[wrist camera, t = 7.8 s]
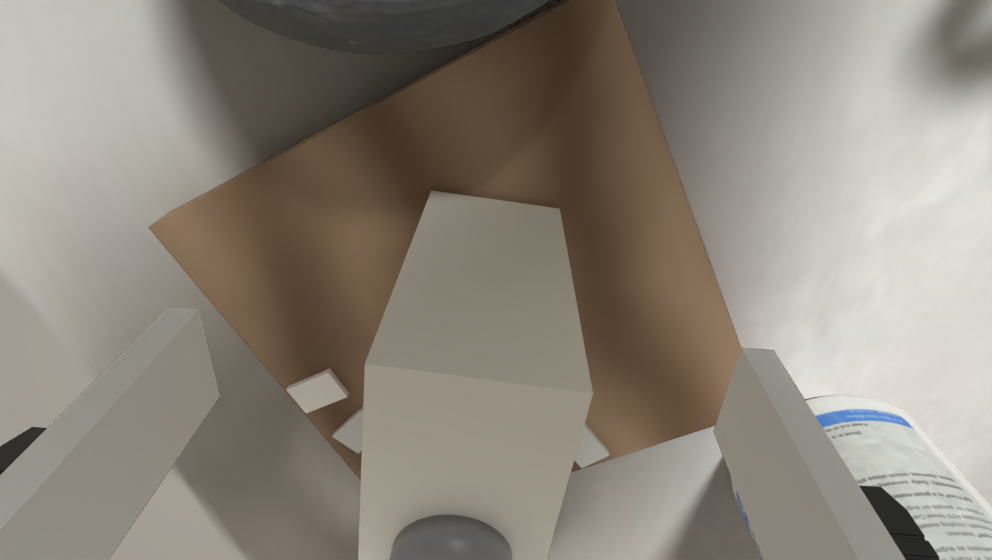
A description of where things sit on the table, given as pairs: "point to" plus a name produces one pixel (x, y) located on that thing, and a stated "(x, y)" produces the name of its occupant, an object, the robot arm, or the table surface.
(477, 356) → the white block with knob
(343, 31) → the bowl
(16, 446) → the robot arm
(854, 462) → the supplement tub
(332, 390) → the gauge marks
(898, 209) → the table surface
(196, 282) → the board
